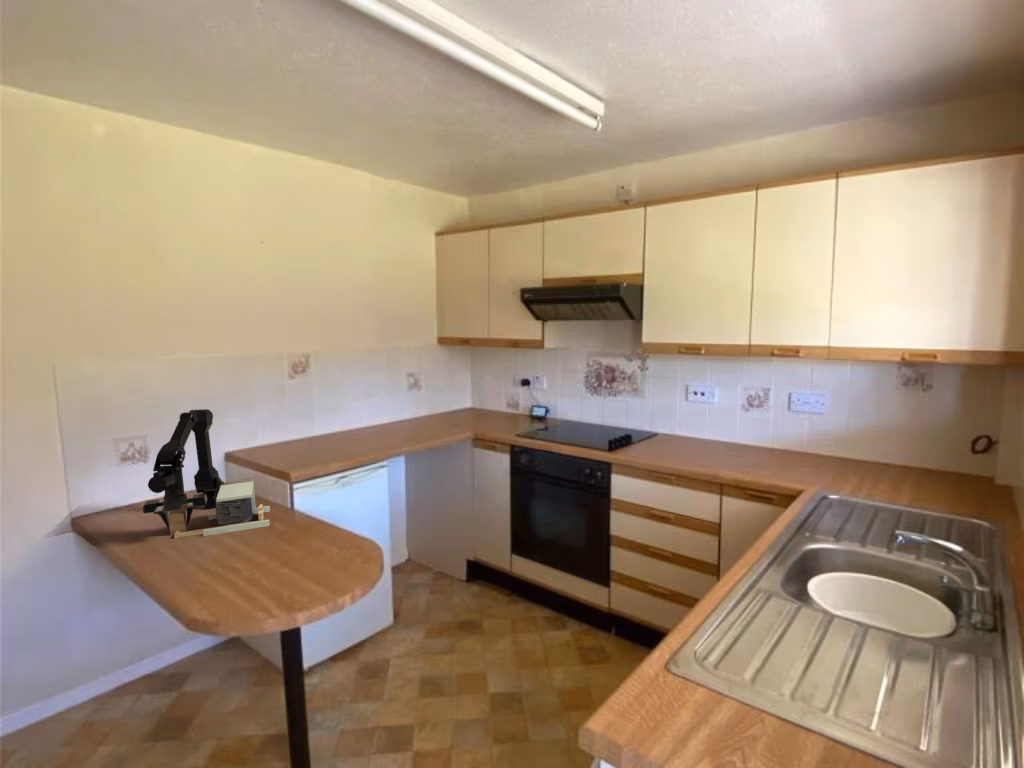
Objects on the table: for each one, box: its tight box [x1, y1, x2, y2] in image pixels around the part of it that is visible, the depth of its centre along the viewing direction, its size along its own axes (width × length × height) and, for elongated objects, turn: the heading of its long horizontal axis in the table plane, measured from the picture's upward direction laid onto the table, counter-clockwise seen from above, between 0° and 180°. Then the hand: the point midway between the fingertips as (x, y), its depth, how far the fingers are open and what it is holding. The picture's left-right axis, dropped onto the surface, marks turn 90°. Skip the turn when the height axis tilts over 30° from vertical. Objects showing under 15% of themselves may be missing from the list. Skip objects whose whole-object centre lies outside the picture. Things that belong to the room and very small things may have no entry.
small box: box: [215, 497, 254, 527], centre depth 200 cm, size 11×6×10 cm, turn 85°
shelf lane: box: [202, 480, 271, 537], centre depth 200 cm, size 17×21×12 cm
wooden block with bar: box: [168, 503, 265, 539], centre depth 198 cm, size 12×29×7 cm, turn 113°
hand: (178, 526), depth 193 cm, fingers open, 6 cm apart
